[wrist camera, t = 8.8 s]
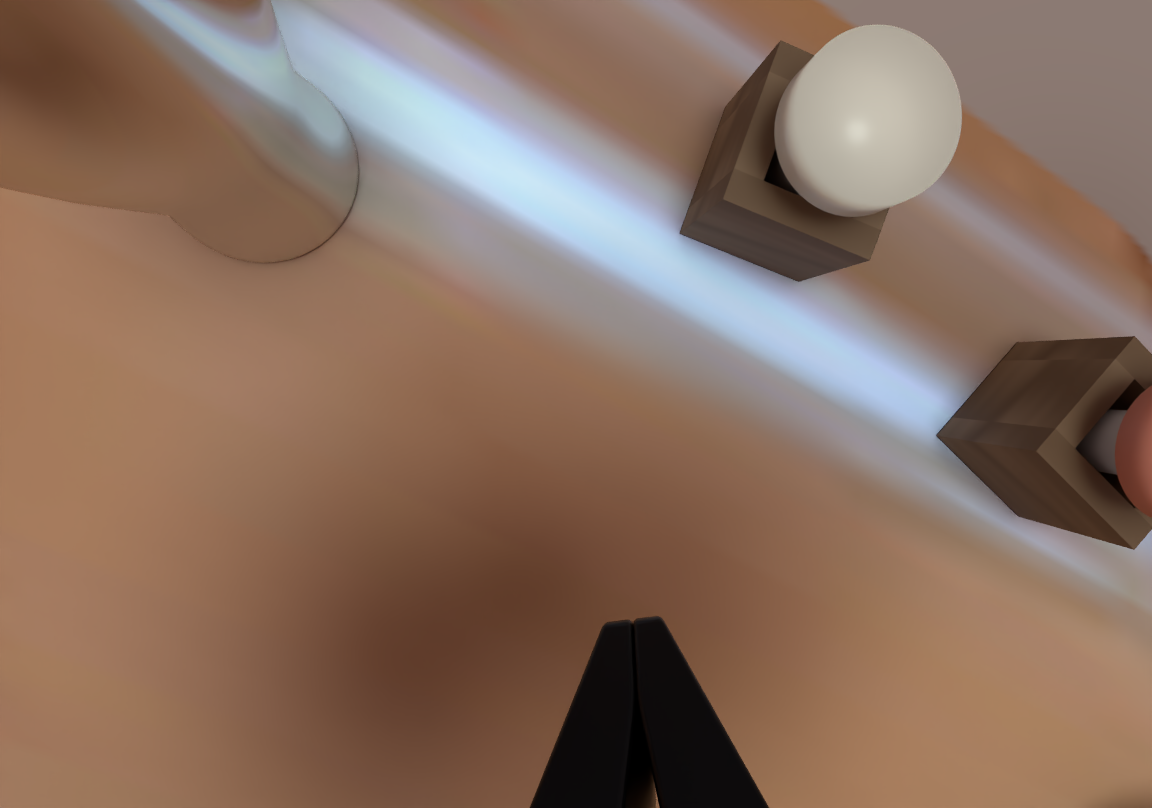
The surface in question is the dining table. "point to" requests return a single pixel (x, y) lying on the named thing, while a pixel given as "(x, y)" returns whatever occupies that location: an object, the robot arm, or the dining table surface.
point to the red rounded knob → (1125, 449)
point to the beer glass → (174, 120)
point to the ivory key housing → (769, 190)
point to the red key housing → (1054, 433)
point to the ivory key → (866, 122)
